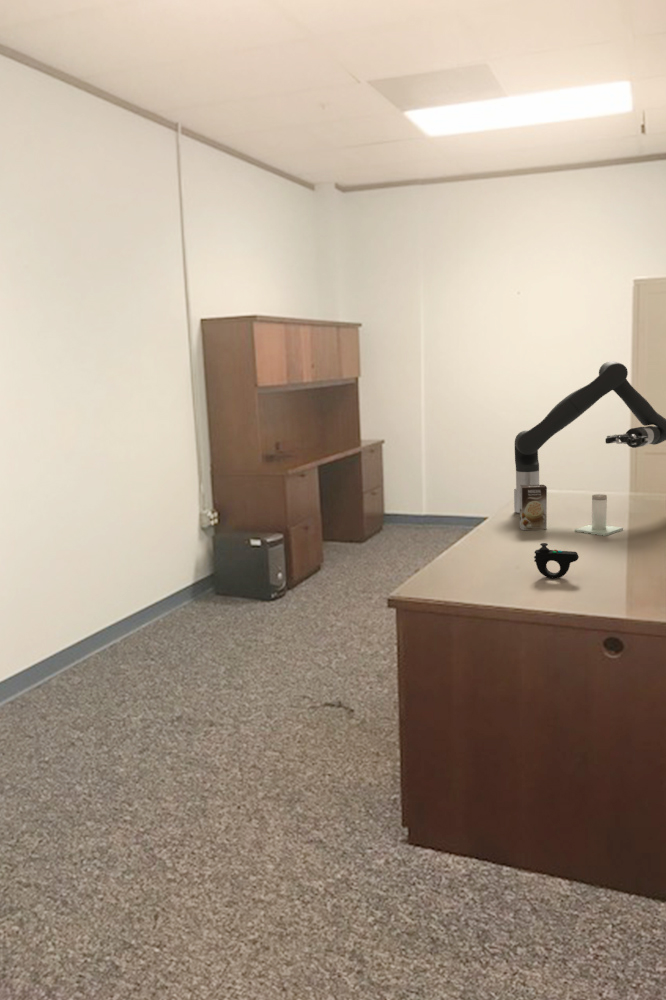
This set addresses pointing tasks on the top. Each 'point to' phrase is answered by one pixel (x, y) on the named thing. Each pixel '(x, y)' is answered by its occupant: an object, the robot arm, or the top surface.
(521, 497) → the coffee box
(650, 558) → the top surface
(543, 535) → the top surface
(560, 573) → the controller
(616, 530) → the sage pad
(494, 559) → the top surface
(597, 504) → the ceramic jar
